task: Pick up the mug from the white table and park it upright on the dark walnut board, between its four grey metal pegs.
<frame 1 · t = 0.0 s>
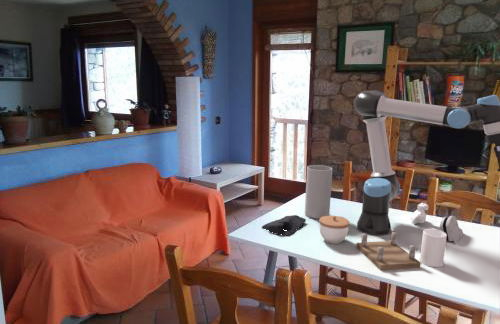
cylinder vase: (316, 215, 196), on the table
peg board: (386, 256, 150), on the table
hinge: (449, 237, 172), on the table
mug: (431, 260, 148), on the table
dark slate chunk: (285, 227, 180), on the table
bust: (418, 222, 189), on the table
lidded bowl: (332, 240, 165), on the table
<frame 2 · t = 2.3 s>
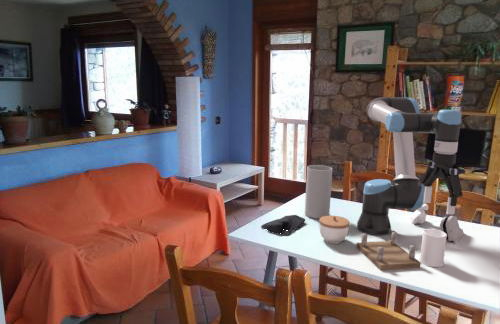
hand: (438, 208, 143), 21 cm above the table, tool pointing down, fingers open, 13 cm apart
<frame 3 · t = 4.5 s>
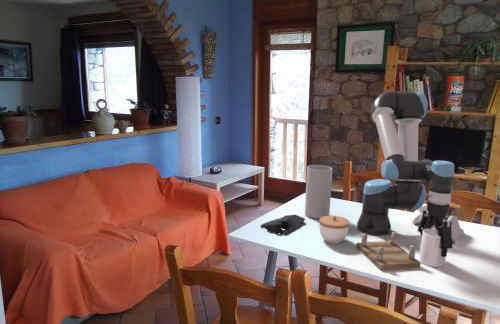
hand: (431, 257, 147), 1 cm above the table, tool pointing down, fingers closed on mug, 10 cm apart
mug: (430, 260, 148), on the table, touching gripper
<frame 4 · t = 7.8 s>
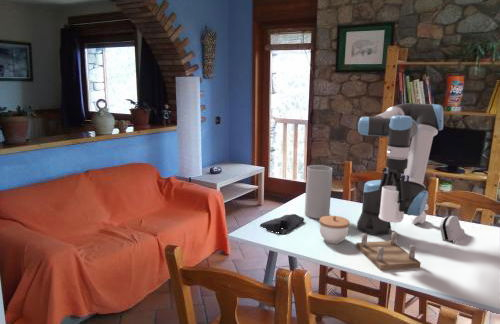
hand: (391, 214, 146), 18 cm above the table, tool pointing down, fingers closed on mug, 10 cm apart
mug: (390, 217, 147), point 16 cm above the table, touching gripper
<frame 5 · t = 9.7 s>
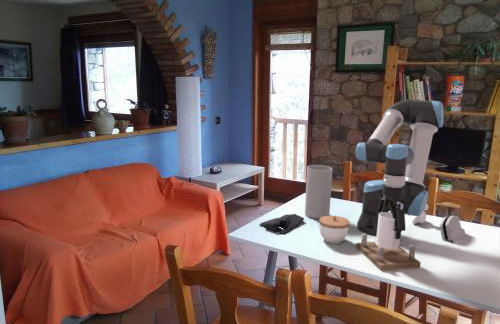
hand: (387, 240, 148), 7 cm above the table, tool pointing down, fingers closed on mug, 10 cm apart
mug: (387, 243, 149), point 5 cm above the table, touching gripper
when the fingers open (5 cm above the table, at t = 11.2 s): mug drops 1 cm, resting on peg board.
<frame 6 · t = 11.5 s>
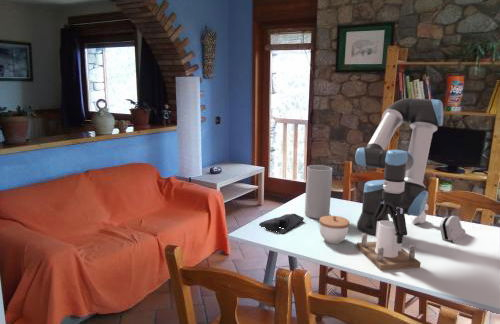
hand: (387, 243, 148), 6 cm above the table, tool pointing down, fingers open, 13 cm apart
mug: (386, 252, 150), point 2 cm above the table, touching peg board
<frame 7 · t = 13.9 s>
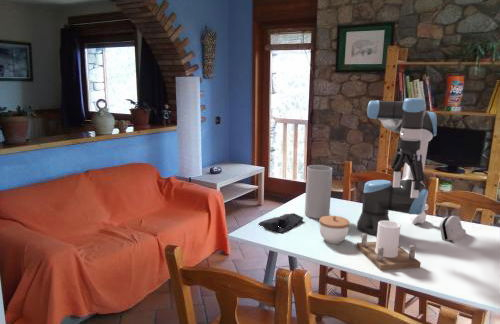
hand: (404, 192, 150), 25 cm above the table, tool pointing down, fingers open, 13 cm apart
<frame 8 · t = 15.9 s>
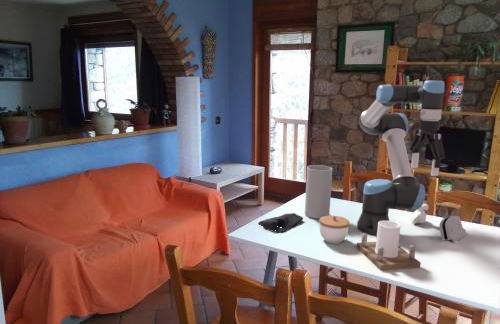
hand: (423, 171, 156), 32 cm above the table, tool pointing down, fingers open, 13 cm apart
at the end: mug 0.4 cm off-centre on the peg board, point 1.8 cm above the peg board's base; mug tilted 0°; the gripper is holding nothing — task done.
